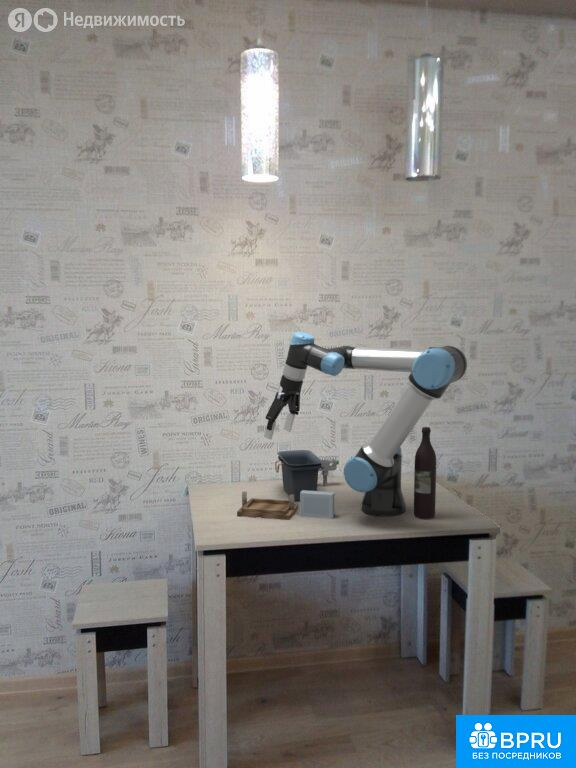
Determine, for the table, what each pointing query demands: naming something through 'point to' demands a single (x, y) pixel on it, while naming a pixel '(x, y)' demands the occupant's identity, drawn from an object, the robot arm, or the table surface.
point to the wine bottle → (425, 478)
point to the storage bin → (299, 471)
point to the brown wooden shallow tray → (267, 507)
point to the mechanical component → (328, 468)
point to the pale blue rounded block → (317, 504)
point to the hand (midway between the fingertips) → (277, 434)
